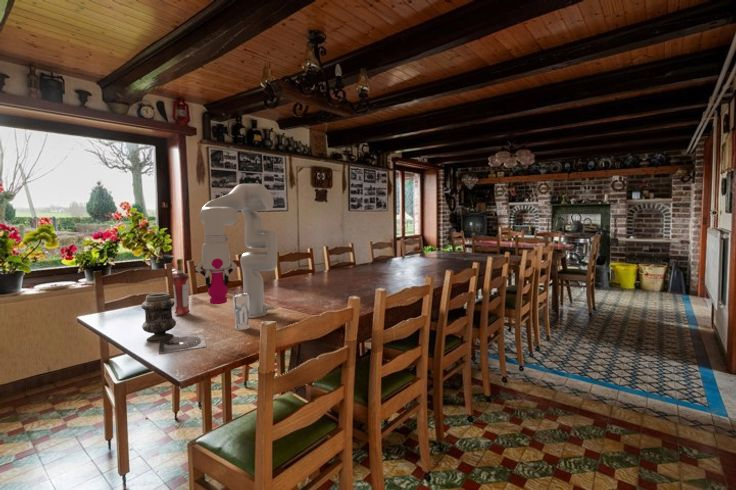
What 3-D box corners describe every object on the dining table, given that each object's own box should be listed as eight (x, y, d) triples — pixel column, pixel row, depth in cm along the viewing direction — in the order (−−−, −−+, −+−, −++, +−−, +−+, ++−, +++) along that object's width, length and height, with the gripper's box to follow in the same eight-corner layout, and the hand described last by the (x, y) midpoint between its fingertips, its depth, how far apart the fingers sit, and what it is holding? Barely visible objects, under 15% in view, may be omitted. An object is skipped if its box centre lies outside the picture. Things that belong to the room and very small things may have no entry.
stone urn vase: (178, 332, 165) (175, 291, 164) (174, 340, 154) (172, 295, 153) (146, 336, 161) (143, 293, 160) (140, 344, 150) (137, 298, 149)
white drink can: (253, 326, 173) (252, 293, 172) (243, 331, 167) (242, 297, 165) (240, 325, 176) (239, 292, 174) (230, 329, 169) (229, 296, 168)
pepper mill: (211, 300, 154) (209, 250, 152) (230, 299, 155) (228, 250, 153) (205, 305, 147) (203, 252, 145) (225, 304, 148) (223, 252, 145)
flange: (203, 335, 162) (203, 332, 162) (206, 347, 148) (206, 344, 148) (159, 341, 155) (159, 338, 155) (158, 354, 141) (158, 351, 141)
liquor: (177, 312, 198) (174, 258, 195) (192, 312, 199) (189, 258, 196) (171, 316, 191) (168, 260, 188) (187, 316, 191) (184, 259, 189)
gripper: (237, 238, 155) (239, 282, 157) (190, 240, 148) (192, 286, 150) (239, 239, 149) (241, 285, 151) (190, 241, 141) (193, 290, 143)
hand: (217, 285), depth 150 cm, fingers closed on pepper mill, 5 cm apart
